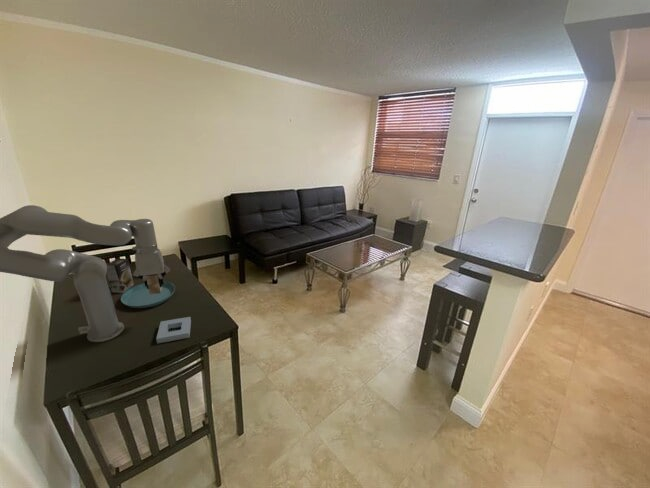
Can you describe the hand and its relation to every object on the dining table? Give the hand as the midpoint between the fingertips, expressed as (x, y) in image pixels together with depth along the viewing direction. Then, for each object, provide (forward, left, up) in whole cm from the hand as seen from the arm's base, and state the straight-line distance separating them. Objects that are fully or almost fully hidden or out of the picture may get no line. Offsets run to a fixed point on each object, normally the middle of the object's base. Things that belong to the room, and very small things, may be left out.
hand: (155, 286), depth 125 cm
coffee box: (-23, +36, -17) cm, 46 cm away
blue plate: (-8, +22, -18) cm, 29 cm away
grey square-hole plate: (+7, -12, -17) cm, 22 cm away
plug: (0, 0, -3) cm, 3 cm away
